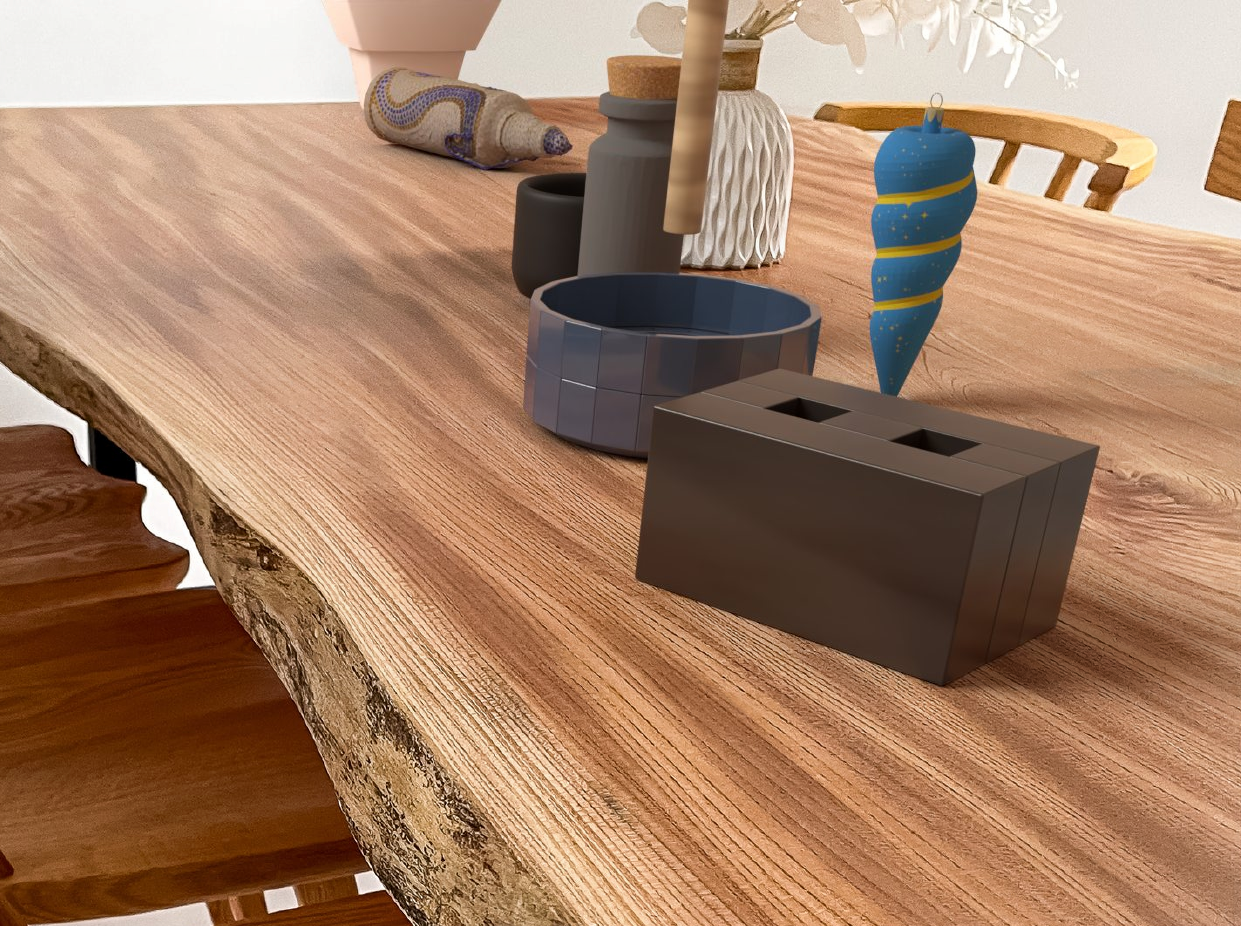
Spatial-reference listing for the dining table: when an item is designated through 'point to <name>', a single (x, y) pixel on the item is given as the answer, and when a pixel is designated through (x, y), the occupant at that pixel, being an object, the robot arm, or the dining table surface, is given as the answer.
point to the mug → (547, 229)
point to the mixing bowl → (652, 348)
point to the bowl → (408, 34)
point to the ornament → (916, 236)
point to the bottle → (632, 171)
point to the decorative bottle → (458, 120)
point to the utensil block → (863, 519)
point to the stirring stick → (695, 115)
